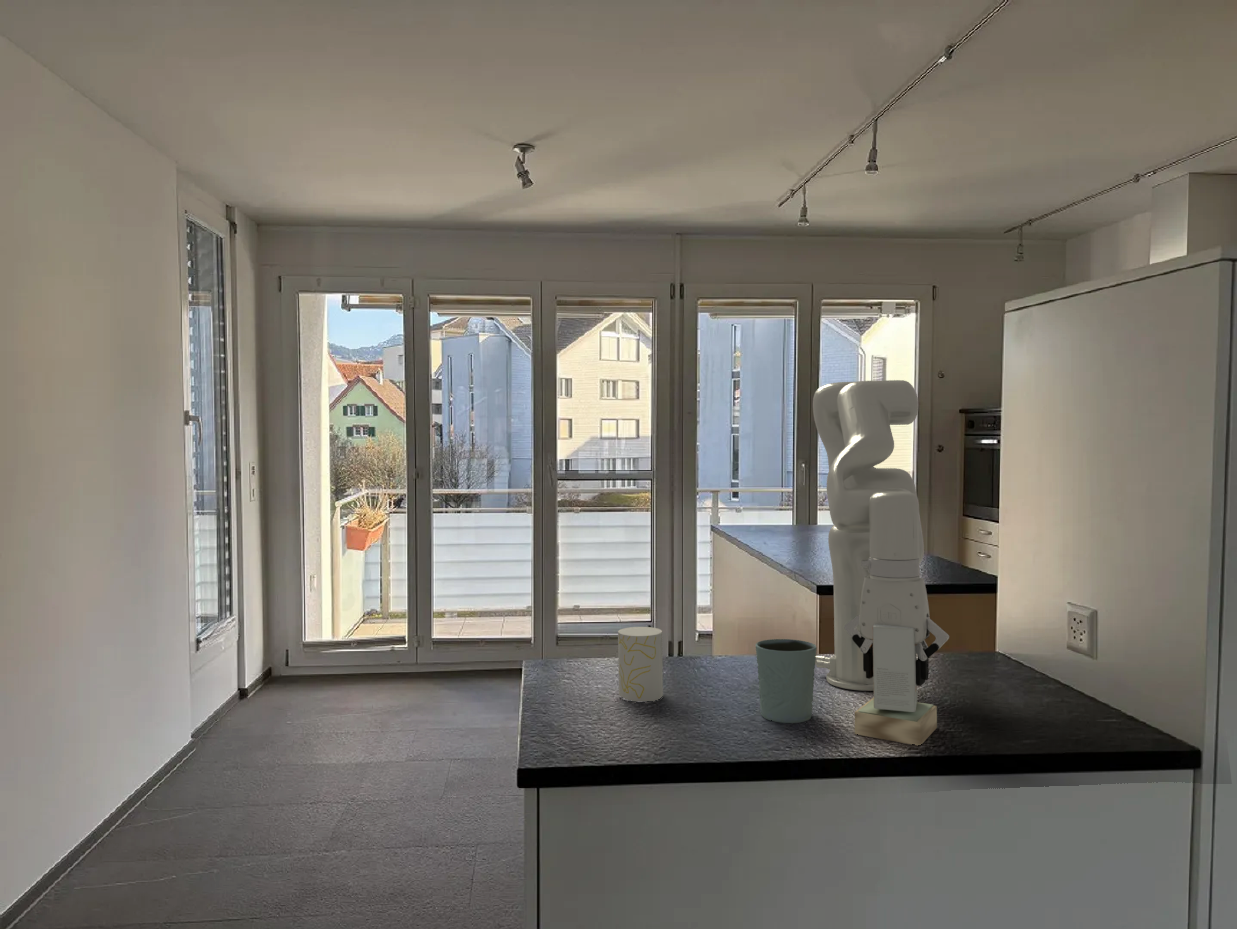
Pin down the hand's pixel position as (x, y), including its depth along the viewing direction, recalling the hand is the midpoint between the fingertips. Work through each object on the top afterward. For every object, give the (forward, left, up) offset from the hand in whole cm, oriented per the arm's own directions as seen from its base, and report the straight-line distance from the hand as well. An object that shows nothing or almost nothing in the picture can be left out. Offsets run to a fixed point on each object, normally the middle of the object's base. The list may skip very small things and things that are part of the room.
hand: (895, 679), depth 132 cm
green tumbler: (-18, -2, -8) cm, 20 cm away
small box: (0, 0, -4) cm, 4 cm away
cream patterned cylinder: (-45, -6, -8) cm, 46 cm away
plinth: (0, 0, -8) cm, 8 cm away
